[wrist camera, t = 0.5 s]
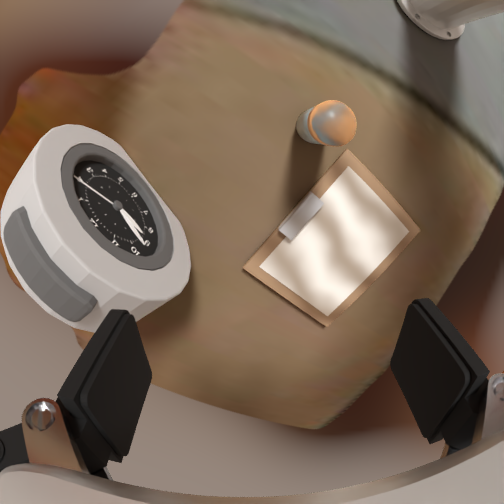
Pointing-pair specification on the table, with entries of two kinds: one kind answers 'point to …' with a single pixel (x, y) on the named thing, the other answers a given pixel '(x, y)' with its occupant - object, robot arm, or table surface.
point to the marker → (327, 124)
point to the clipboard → (334, 241)
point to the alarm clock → (91, 231)
